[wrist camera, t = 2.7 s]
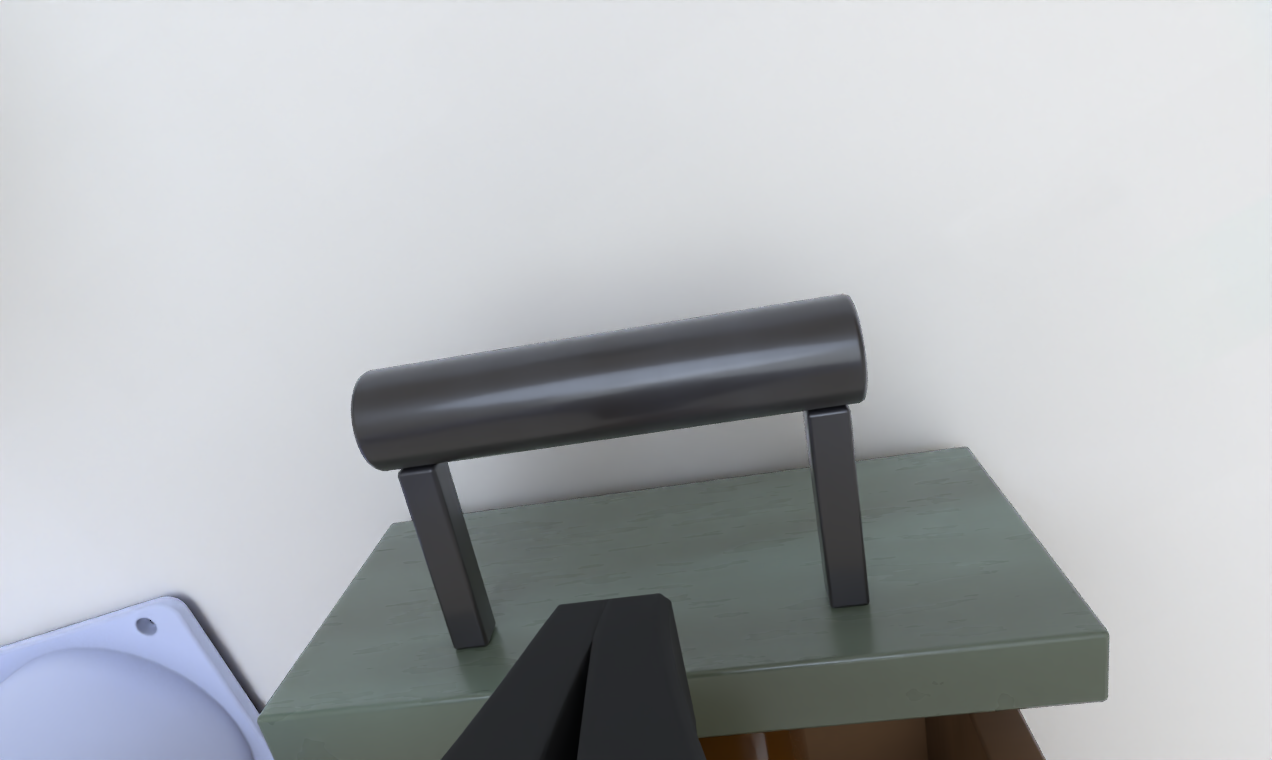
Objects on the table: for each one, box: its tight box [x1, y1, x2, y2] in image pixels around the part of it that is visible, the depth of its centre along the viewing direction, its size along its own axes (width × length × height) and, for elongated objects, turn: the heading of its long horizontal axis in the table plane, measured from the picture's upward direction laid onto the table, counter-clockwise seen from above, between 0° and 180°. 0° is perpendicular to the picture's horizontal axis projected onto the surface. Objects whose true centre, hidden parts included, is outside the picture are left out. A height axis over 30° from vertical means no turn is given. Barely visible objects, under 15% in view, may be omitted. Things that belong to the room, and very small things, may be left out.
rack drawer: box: [257, 294, 1109, 760], centre depth 15 cm, size 17×12×6 cm
